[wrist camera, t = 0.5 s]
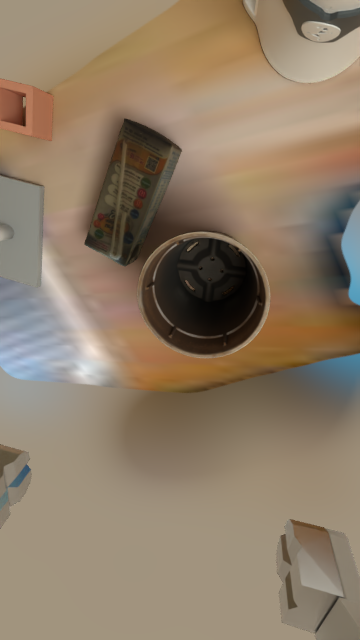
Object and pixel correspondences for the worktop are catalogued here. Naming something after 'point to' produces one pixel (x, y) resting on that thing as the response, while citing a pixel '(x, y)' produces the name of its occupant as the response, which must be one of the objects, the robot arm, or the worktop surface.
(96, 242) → the beverage carton
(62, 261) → the worktop surface
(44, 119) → the collar
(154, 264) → the plant pot
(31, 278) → the post board
